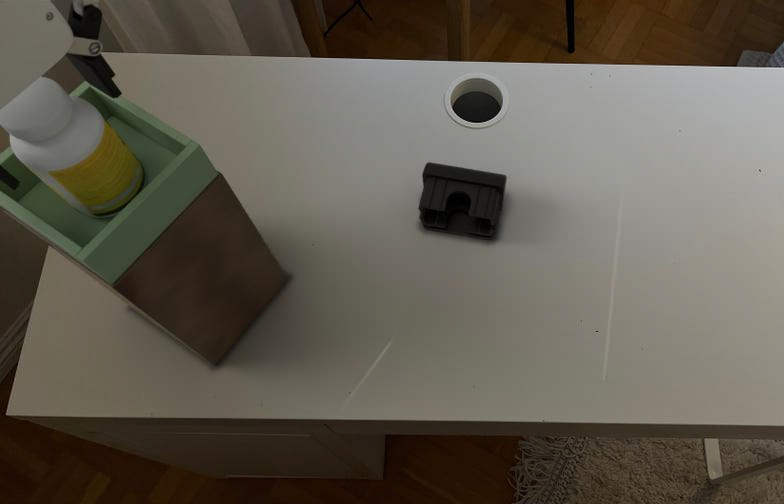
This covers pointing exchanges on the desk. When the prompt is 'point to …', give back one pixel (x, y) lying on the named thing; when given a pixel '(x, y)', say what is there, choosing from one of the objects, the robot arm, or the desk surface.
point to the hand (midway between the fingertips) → (56, 131)
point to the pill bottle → (72, 149)
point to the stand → (199, 273)
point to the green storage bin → (141, 216)
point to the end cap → (461, 200)
